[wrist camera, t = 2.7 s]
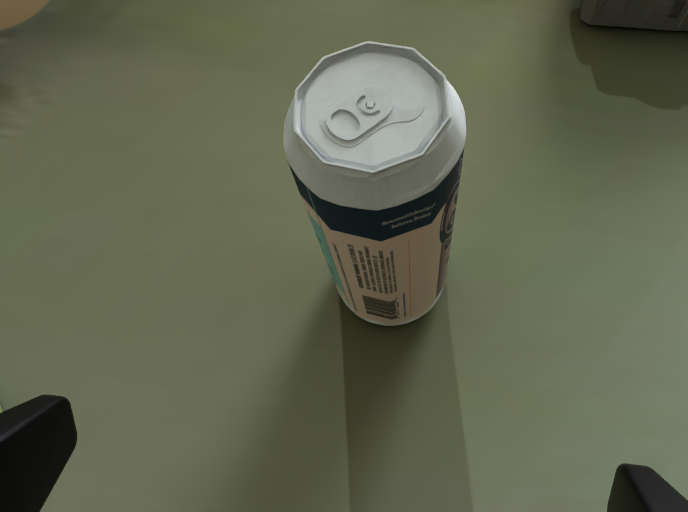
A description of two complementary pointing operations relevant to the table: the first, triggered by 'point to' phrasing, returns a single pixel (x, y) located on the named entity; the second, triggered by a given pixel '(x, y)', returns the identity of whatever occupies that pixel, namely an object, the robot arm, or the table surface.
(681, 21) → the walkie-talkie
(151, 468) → the table surface
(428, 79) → the beer can
